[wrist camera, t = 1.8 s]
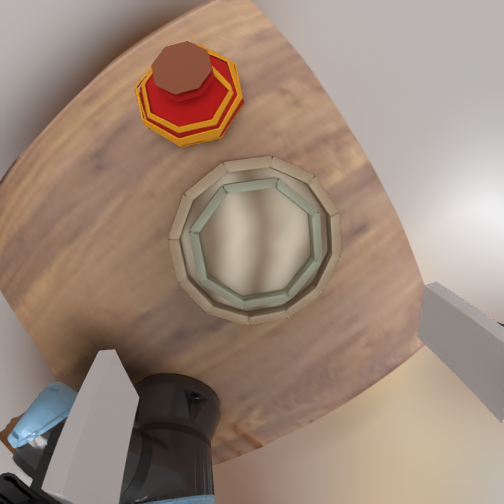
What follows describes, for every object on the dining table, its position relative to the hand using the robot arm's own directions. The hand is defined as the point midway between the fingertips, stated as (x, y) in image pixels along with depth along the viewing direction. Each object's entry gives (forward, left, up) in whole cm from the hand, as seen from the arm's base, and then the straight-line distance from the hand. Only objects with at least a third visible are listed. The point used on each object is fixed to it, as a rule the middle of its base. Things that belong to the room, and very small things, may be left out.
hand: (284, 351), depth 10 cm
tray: (+2, -3, -25) cm, 25 cm away
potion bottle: (-3, +14, -25) cm, 29 cm away
